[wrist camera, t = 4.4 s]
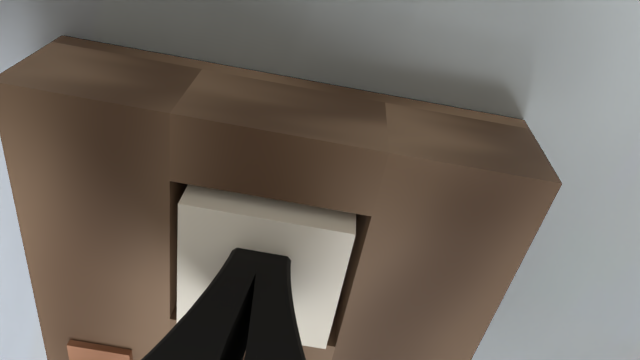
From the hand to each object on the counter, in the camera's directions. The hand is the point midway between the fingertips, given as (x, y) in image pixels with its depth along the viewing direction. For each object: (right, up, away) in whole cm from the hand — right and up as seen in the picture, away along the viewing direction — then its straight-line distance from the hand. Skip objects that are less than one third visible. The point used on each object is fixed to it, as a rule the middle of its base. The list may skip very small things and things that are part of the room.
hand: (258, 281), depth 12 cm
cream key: (0, +1, +2) cm, 2 cm away
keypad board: (-1, -3, +6) cm, 7 cm away
